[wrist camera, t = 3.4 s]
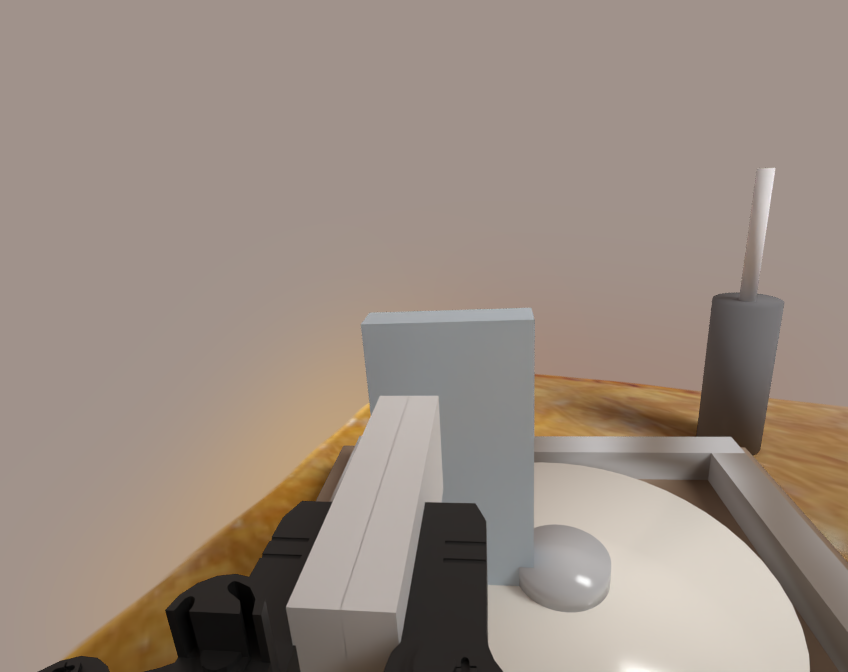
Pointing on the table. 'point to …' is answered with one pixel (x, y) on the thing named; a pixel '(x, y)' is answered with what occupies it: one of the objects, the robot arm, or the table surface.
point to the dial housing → (720, 518)
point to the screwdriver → (742, 342)
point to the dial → (576, 522)
